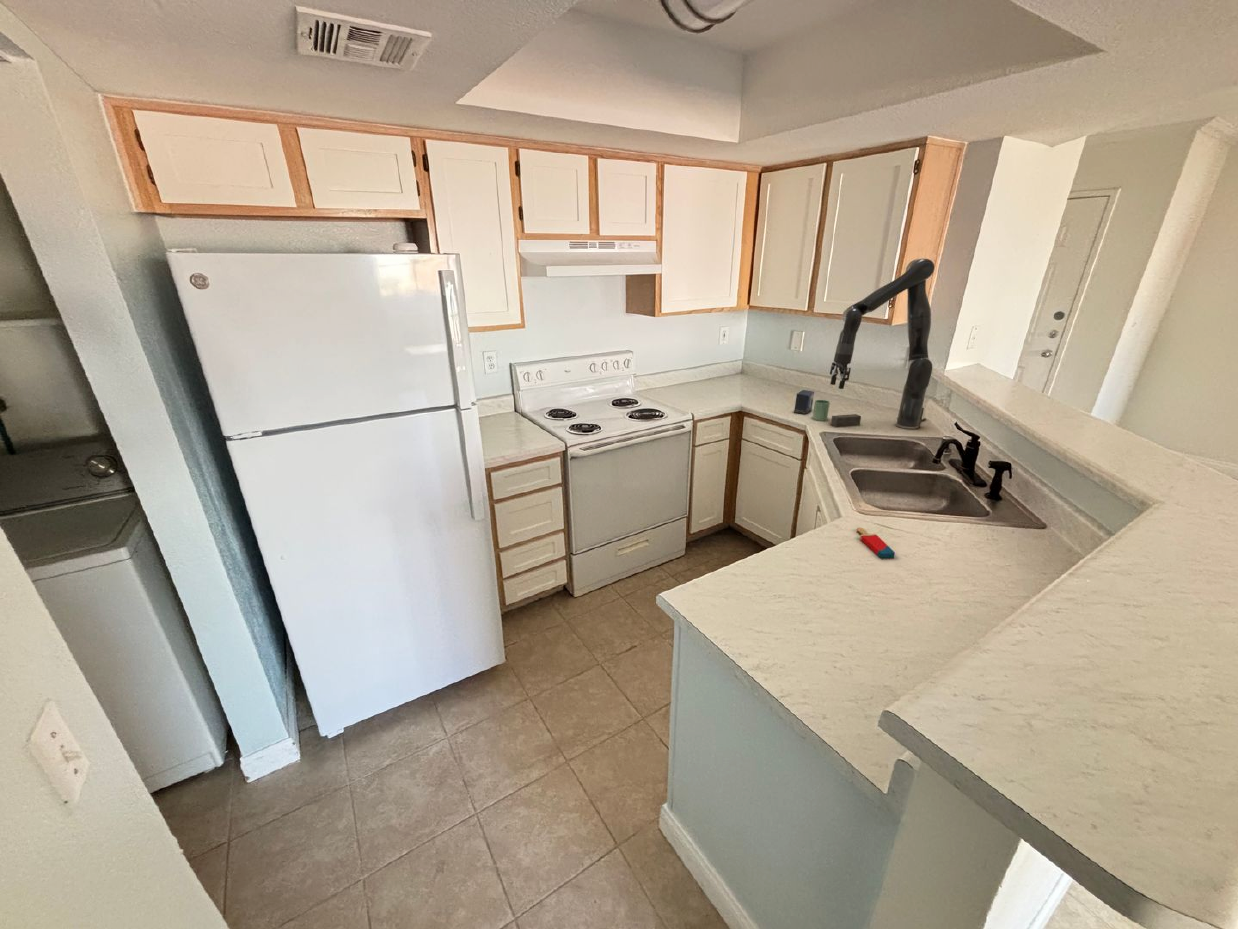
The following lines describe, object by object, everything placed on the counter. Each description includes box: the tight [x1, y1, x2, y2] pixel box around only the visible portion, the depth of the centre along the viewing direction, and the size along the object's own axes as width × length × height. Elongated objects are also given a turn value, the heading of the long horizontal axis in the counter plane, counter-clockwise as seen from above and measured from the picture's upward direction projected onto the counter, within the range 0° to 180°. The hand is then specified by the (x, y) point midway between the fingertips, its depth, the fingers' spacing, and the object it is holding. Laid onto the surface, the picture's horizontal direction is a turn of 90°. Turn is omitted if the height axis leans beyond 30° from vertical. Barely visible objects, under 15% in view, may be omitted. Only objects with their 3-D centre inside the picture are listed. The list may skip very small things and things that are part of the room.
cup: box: [812, 399, 831, 422], centre depth 251 cm, size 7×7×9 cm
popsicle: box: [856, 527, 896, 559], centre depth 141 cm, size 4×2×15 cm
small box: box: [793, 389, 815, 415], centre depth 264 cm, size 11×6×10 cm, turn 143°
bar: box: [830, 413, 862, 428], centre depth 242 cm, size 13×4×4 cm, turn 102°
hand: (836, 386), depth 240 cm, fingers open, 8 cm apart
